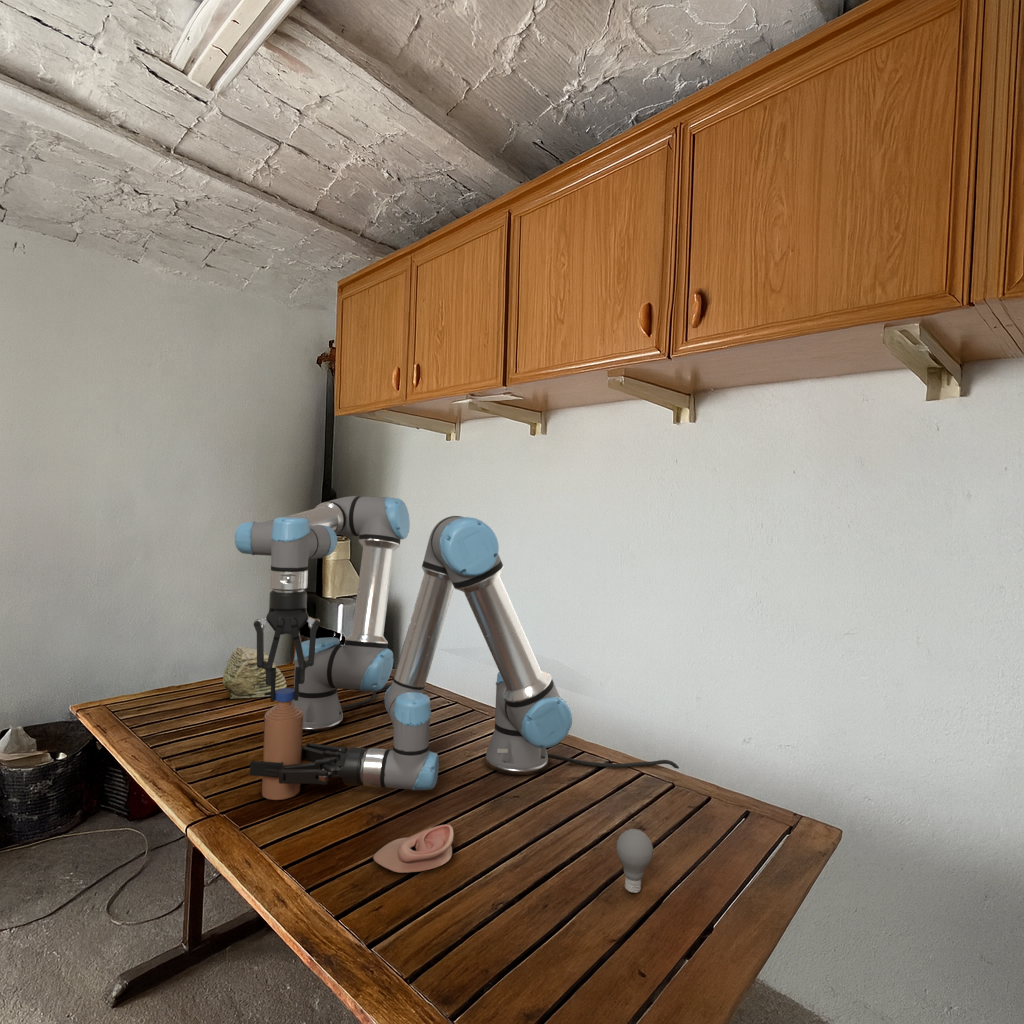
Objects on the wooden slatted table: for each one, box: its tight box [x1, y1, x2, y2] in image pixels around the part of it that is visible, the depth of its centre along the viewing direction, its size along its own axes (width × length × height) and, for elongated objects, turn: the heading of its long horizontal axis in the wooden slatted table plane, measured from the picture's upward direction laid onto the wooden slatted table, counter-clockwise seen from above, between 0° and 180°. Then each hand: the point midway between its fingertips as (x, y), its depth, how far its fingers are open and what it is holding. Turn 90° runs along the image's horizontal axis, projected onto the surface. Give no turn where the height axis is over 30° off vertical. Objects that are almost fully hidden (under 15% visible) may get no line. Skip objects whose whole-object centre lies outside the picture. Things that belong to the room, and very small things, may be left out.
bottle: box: [261, 700, 304, 801], centre depth 135 cm, size 8×8×21 cm
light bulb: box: [615, 828, 654, 894], centre depth 106 cm, size 6×6×10 cm
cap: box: [274, 687, 295, 702], centre depth 135 cm, size 4×4×2 cm
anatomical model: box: [372, 824, 455, 874], centre depth 113 cm, size 13×4×12 cm
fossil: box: [222, 646, 288, 699], centre depth 198 cm, size 9×18×15 cm, turn 132°
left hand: (284, 699), depth 135 cm, fingers closed on cap, 4 cm apart
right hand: (260, 759), depth 136 cm, fingers closed on bottle, 8 cm apart
